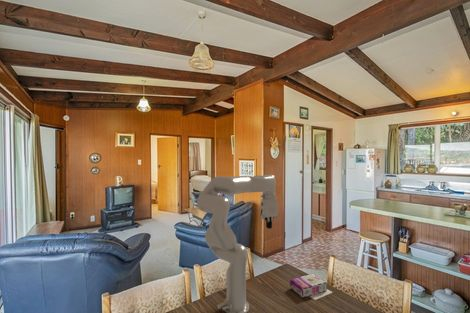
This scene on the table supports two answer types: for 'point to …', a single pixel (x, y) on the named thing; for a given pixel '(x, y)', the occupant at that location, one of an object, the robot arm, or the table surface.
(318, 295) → the white mat
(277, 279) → the table surface
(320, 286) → the candy bar box
